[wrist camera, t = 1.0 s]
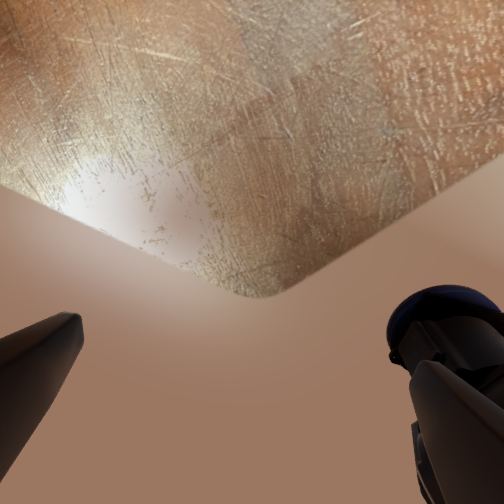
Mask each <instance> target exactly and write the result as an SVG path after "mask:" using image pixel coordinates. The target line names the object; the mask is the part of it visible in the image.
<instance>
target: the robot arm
mask: <svg viewBox="0 0 504 504" xmlns="http://www.w3.org/2000/svg"><path fill="white" fill-rule="evenodd" d="M430 297H432V299H431V300H429V301H427V299H428V298H430ZM503 321H504V313H503V312H500V311H496V310H493V309H489V308H486V307H483V306H479V305H476V304H472V303H469V302H465V301H462V300H459V299H455V298H452V297H448V296H445V295H441V294H438V293H434V292H430V291H428V292H425V293H423V294H422V296H421V297H420V299H419V301H418V303H417V305H416V306H415V308H414V310H413V312H412V313H411V315H410V316H408V317H407V319H406V321H405V323H404V325H403V326H402V328H401V330H400V332H399V334H398V335H397V337H396V339H395V341H394V343H395V344H394V346H393V347H392V349H391V351H390V353H389V359H390V361H391V362H392V363H393V364H397V365H400V366H403V367H406V368H407V369H408V371H409V373H410V375H411V377H412V378H411V380H410V384H409V390H410V395H411V398H412V402H413V406H414V409H415V413H416V416H417V421H416V422H414V423H413V424H412V425H411V428H412V436H413V445H414V453H415V461H416V470H417V477H418V482H419V486H420V491H421V494H422V496H423V498H424V499H425V501H426V502H427V504H504V322H503ZM83 343H84V333H83V325H82V318H81V316H80V315H79V314H78V313H72V312H61V313H58V314H56V315H54V316H51V317H49V318H47V319H44V320H42V321H40V322H38V323H35V324H33V325H31V326H28V327H26V328H24V329H21V330H19V331H17V332H14V333H13V334H10V335H7V336H5V337H3V338H1V339H0V482H1V480H2V479H3V477H4V476H5V475H6V473H7V472H8V470H9V468H10V467H11V465H12V464H13V463H14V461H15V460H16V458H17V456H18V455H19V453H20V452H21V450H22V449H23V447H24V446H25V444H26V443H27V441H28V440H29V438H30V437H31V435H32V434H33V432H34V430H35V429H36V428H37V426H38V424H39V423H40V422H41V420H42V418H43V417H44V416H45V414H46V412H47V411H48V409H49V408H50V406H51V404H52V403H53V401H54V399H55V398H56V396H57V394H58V392H59V390H60V388H61V386H62V385H63V382H64V381H65V379H66V377H67V375H68V373H69V371H70V369H71V368H72V366H73V364H74V362H75V360H76V358H77V356H78V354H79V352H80V350H81V348H82V346H83ZM396 356H398V357H397V358H394V357H396Z"/></svg>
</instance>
